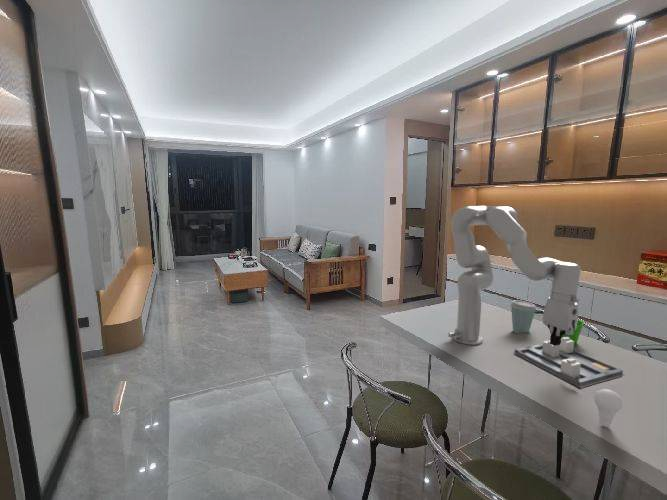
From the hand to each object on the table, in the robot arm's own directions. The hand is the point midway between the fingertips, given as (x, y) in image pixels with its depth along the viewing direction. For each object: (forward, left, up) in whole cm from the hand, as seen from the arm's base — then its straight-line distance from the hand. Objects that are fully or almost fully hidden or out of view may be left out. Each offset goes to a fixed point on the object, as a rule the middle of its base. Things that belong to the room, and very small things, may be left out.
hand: (554, 344), depth 123 cm
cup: (+27, +13, -11) cm, 32 cm away
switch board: (+8, +1, -11) cm, 13 cm away
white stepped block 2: (0, -6, -9) cm, 11 cm away
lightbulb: (-15, -27, -11) cm, 32 cm away
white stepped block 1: (+8, +7, -9) cm, 14 cm away
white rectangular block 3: (+16, +7, -9) cm, 20 cm away
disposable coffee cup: (+19, +30, -11) cm, 37 cm away
